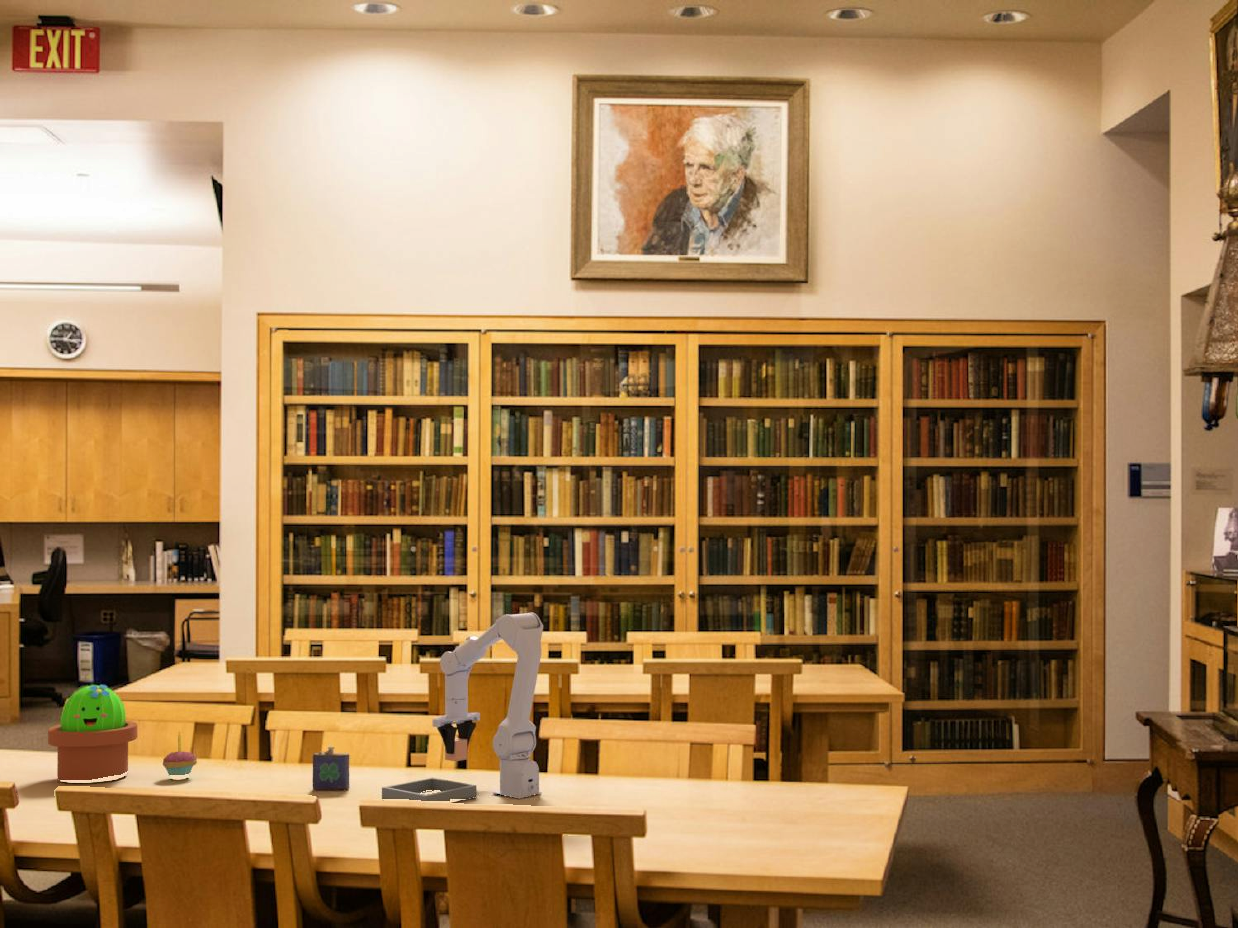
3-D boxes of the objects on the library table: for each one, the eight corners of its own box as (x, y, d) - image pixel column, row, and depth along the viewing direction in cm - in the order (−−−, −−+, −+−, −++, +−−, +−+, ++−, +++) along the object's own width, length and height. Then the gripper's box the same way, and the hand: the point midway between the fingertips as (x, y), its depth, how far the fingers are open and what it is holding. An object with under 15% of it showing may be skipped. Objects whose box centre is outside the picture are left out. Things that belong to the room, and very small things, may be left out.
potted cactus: (53, 773, 369) (54, 679, 370) (140, 768, 375) (140, 676, 376) (42, 788, 348) (42, 689, 349) (133, 783, 354) (134, 685, 355)
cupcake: (161, 777, 362) (161, 731, 362) (194, 774, 365) (194, 729, 366) (164, 782, 354) (165, 736, 354) (199, 780, 358) (199, 733, 358)
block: (467, 758, 350) (467, 739, 350) (455, 761, 347) (455, 741, 347) (456, 757, 353) (456, 737, 353) (445, 759, 350) (444, 739, 350)
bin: (476, 797, 332) (476, 785, 332) (425, 808, 320) (425, 795, 320) (432, 789, 342) (432, 777, 342) (381, 799, 330) (381, 787, 330)
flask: (350, 788, 345) (350, 745, 345) (347, 790, 342) (347, 747, 342) (314, 788, 345) (313, 745, 345) (310, 791, 342) (310, 747, 342)
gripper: (466, 694, 359) (467, 746, 358) (424, 700, 348) (424, 754, 347) (485, 696, 354) (485, 749, 353) (443, 702, 343) (443, 757, 343)
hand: (456, 752), depth 350 cm, fingers closed on block, 4 cm apart
